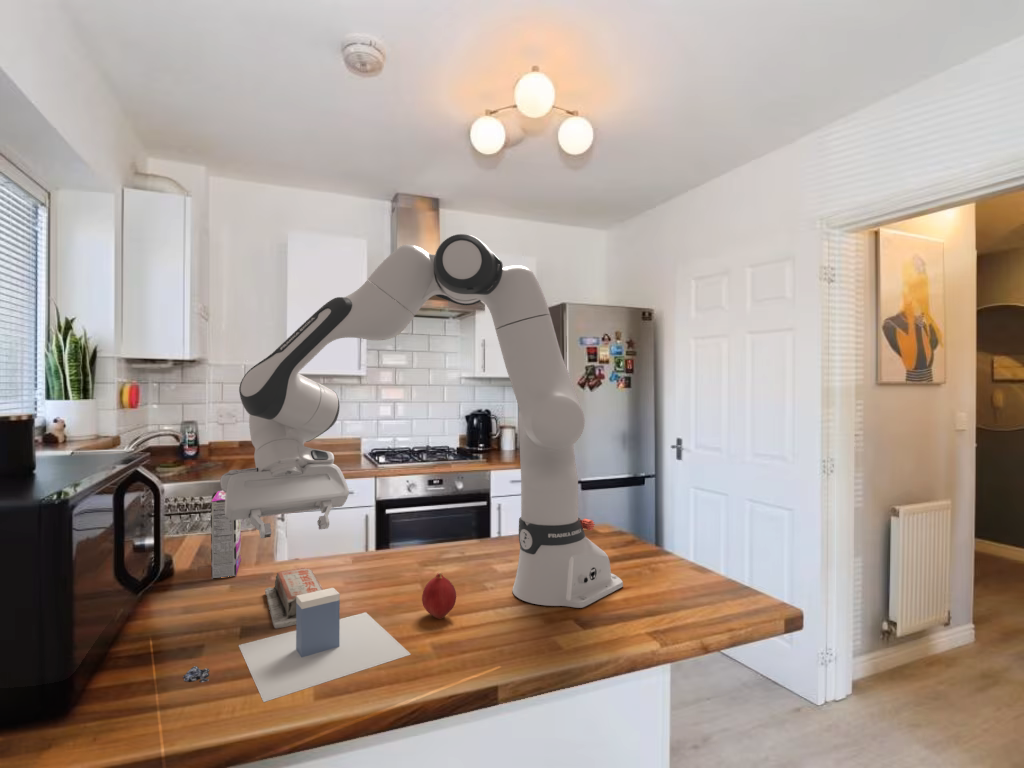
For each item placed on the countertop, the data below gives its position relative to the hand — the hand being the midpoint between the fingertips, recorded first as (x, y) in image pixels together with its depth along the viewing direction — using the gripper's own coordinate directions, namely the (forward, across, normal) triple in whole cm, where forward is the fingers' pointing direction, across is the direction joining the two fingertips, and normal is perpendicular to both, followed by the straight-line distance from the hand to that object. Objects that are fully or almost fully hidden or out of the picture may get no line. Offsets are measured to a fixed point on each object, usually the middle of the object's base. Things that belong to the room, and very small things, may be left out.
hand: (296, 531), depth 90 cm
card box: (+19, 0, +2) cm, 19 cm away
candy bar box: (-14, -6, +36) cm, 39 cm away
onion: (+20, +20, +1) cm, 29 cm away
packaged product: (+7, +2, +16) cm, 17 cm away
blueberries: (+19, -15, +4) cm, 24 cm away
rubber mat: (+20, +1, +1) cm, 20 cm away
